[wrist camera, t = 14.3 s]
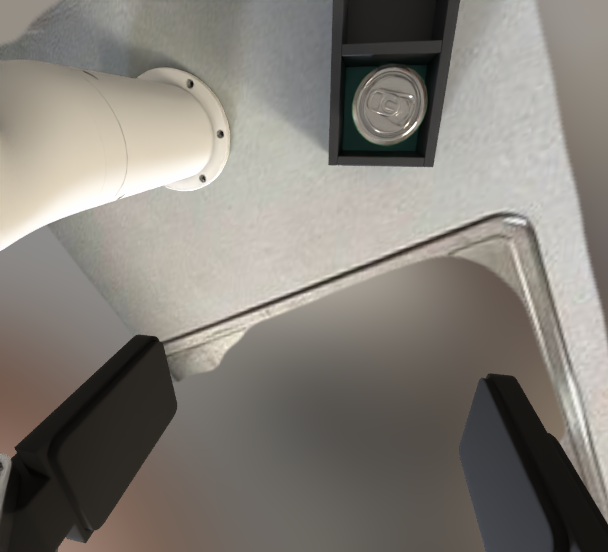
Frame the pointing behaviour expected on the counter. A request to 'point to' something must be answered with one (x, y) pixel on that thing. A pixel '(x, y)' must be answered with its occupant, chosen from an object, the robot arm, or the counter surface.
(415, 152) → the two-compartment grey tray
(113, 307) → the counter surface
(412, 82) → the soda can
